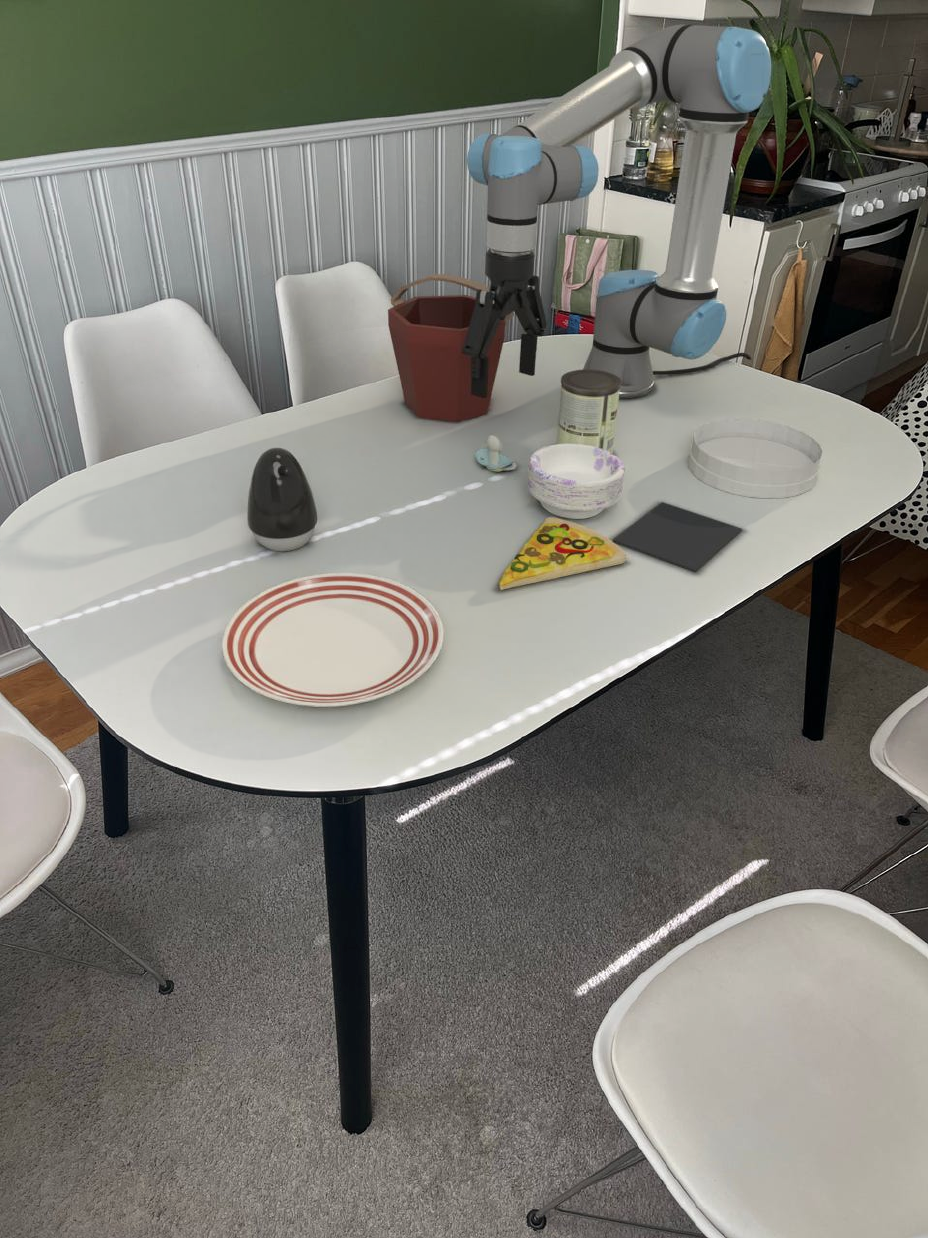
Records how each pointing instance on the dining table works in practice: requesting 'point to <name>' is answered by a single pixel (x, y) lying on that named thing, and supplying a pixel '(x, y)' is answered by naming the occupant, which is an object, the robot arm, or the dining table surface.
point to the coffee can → (588, 408)
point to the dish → (755, 458)
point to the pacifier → (494, 456)
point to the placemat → (678, 536)
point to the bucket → (440, 351)
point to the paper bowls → (575, 479)
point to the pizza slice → (560, 553)
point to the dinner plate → (332, 639)
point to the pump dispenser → (280, 502)
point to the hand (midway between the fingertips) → (503, 384)
